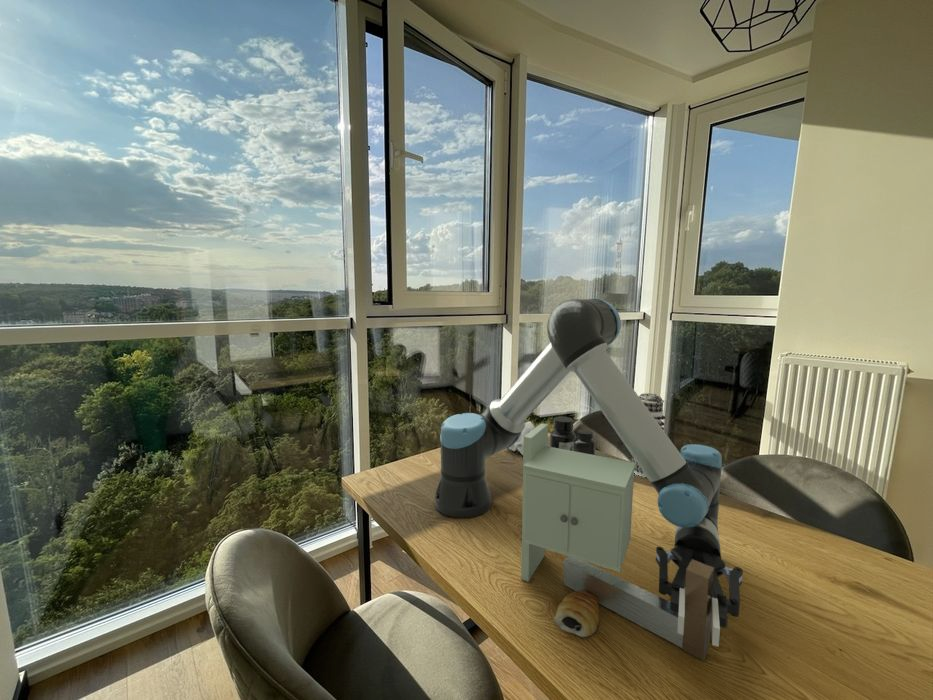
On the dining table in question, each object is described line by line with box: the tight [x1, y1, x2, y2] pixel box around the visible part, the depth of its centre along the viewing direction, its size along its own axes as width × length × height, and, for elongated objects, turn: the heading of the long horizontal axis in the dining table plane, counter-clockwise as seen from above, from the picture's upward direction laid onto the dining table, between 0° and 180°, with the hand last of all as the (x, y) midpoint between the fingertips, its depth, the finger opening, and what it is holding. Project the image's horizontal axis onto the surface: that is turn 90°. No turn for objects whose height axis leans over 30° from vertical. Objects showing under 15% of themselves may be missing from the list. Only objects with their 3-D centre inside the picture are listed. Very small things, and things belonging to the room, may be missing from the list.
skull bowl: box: [508, 421, 536, 456], centre depth 147 cm, size 10×14×12 cm
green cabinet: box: [520, 422, 636, 583], centre depth 76 cm, size 19×14×29 cm
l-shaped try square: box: [563, 556, 714, 662], centre depth 70 cm, size 24×3×14 cm, turn 46°
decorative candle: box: [631, 392, 666, 478], centre depth 128 cm, size 9×9×25 cm
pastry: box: [553, 590, 600, 638], centre depth 71 cm, size 9×7×4 cm
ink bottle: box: [549, 416, 577, 451], centre depth 146 cm, size 10×9×12 cm
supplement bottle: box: [573, 429, 597, 455], centre depth 133 cm, size 7×7×12 cm
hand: (698, 630), depth 58 cm, fingers closed on l-shaped try square, 4 cm apart
